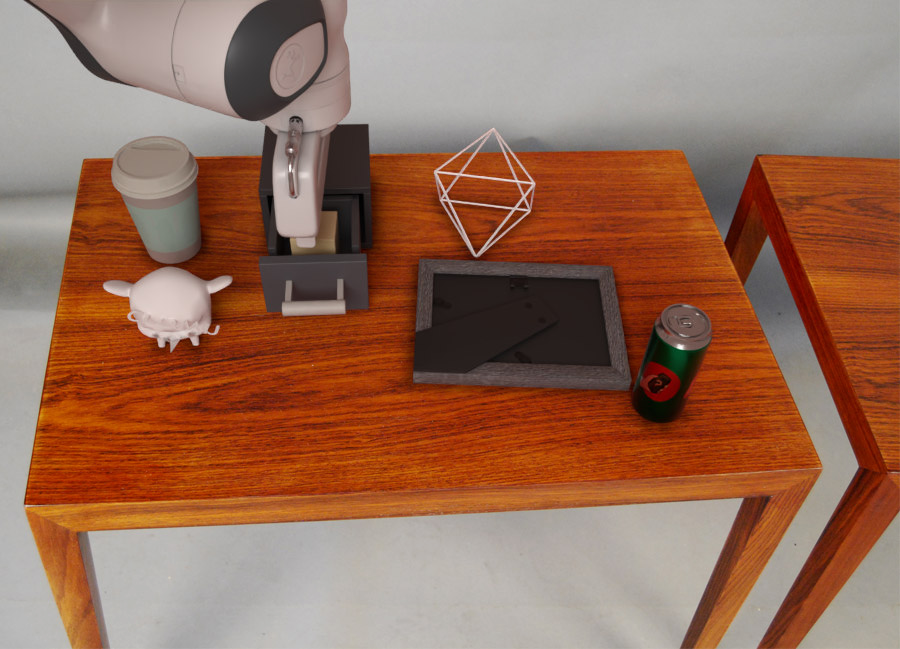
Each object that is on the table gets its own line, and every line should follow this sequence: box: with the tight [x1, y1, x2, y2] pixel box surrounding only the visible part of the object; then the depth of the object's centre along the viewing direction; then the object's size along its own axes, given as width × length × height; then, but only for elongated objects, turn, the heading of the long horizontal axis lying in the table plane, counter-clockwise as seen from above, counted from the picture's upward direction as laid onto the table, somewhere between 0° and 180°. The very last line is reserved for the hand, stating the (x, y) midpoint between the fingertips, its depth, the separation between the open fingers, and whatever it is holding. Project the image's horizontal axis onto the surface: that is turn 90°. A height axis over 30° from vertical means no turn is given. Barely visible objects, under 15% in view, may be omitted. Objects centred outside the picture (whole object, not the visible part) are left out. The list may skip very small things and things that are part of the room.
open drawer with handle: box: [258, 195, 370, 317], centre depth 87 cm, size 15×10×7 cm
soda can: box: [630, 303, 714, 424], centre depth 78 cm, size 5×5×12 cm
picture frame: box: [412, 258, 632, 392], centre depth 88 cm, size 16×2×21 cm
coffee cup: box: [110, 135, 203, 265], centre depth 90 cm, size 8×8×12 cm
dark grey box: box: [258, 123, 374, 250], centre depth 96 cm, size 12×12×9 cm
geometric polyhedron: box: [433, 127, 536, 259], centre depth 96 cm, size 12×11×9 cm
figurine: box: [102, 266, 234, 353], centre depth 83 cm, size 12×8×10 cm
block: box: [290, 211, 340, 255], centre depth 88 cm, size 4×4×6 cm
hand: (311, 211), depth 85 cm, fingers open, 8 cm apart
